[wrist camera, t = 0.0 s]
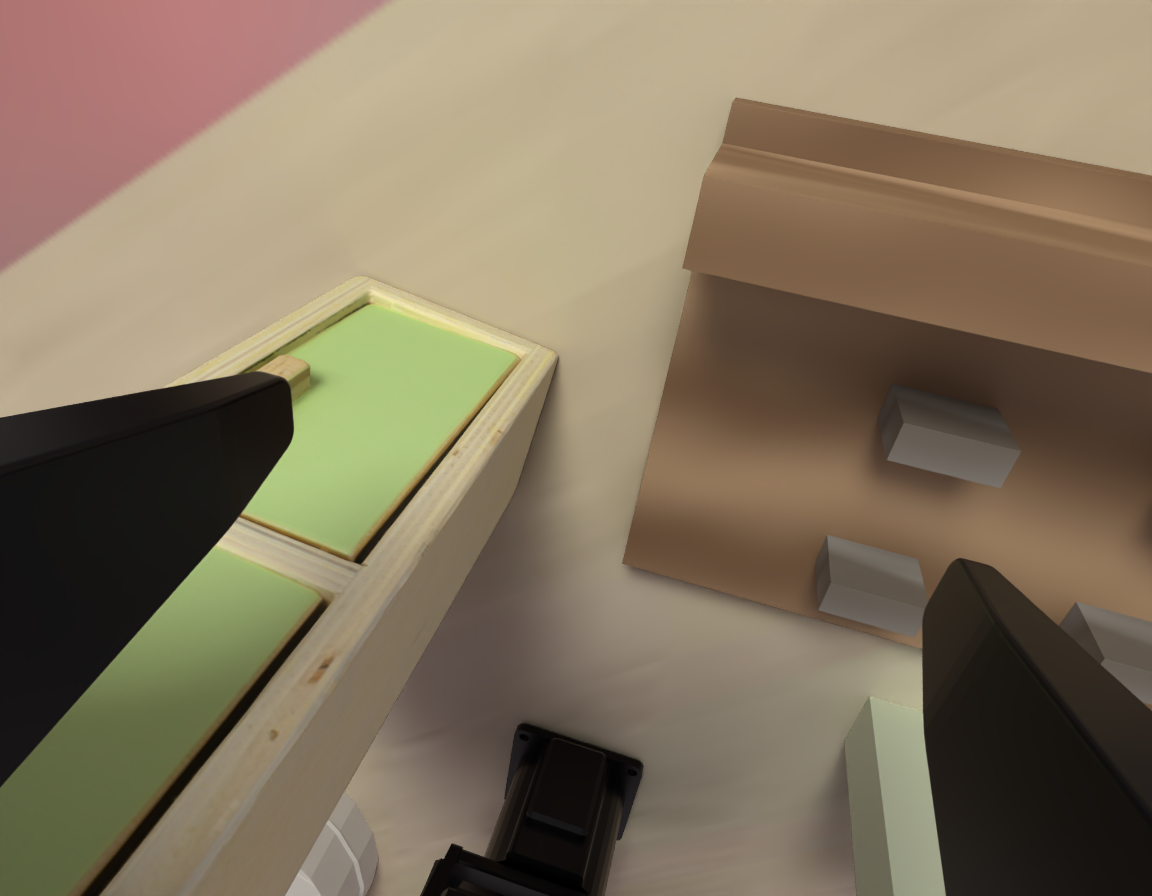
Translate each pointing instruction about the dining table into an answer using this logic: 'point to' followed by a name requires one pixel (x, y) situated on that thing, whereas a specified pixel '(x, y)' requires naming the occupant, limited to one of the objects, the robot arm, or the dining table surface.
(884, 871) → the door panel
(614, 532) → the dining table surface
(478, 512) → the toy refrigerator
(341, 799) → the dish
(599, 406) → the dining table surface
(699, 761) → the dining table surface
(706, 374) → the cabinet base
